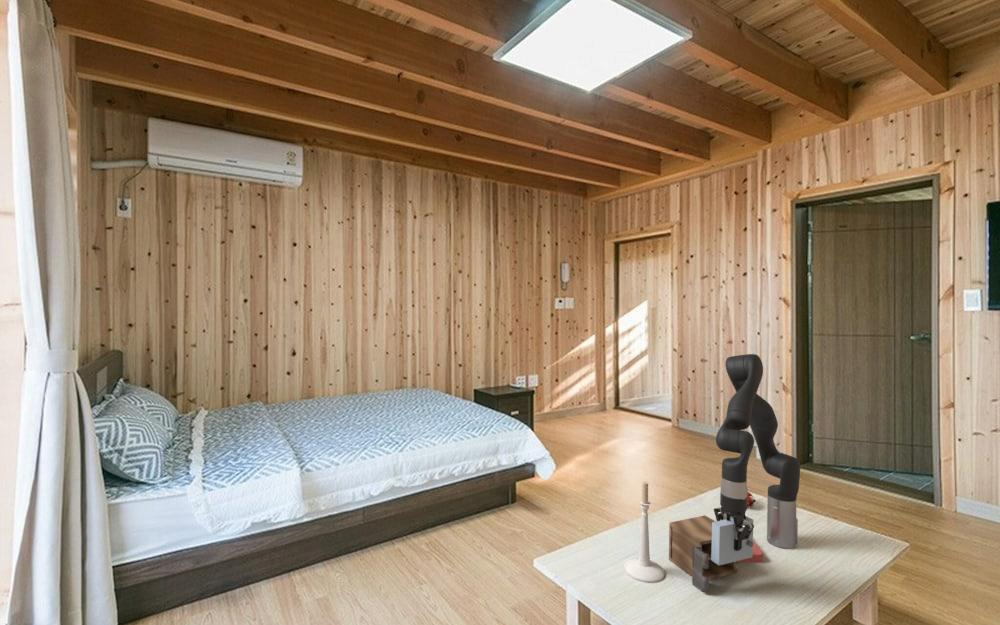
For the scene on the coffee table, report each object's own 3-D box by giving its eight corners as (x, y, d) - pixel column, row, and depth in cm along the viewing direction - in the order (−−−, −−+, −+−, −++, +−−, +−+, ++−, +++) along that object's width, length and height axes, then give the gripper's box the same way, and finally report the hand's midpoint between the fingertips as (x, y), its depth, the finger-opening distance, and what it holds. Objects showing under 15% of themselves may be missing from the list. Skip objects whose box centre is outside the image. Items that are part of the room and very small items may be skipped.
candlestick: (672, 580, 149) (673, 487, 149) (634, 584, 147) (635, 490, 146) (652, 559, 162) (653, 473, 161) (617, 562, 160) (618, 475, 159)
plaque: (703, 526, 179) (744, 528, 177) (702, 536, 179) (743, 538, 177) (719, 550, 161) (764, 553, 160) (719, 561, 161) (764, 564, 160)
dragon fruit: (733, 502, 212) (752, 518, 201) (721, 493, 210) (739, 508, 199) (744, 487, 212) (764, 502, 201) (732, 478, 210) (751, 492, 199)
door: (711, 560, 146) (712, 522, 145) (744, 552, 151) (745, 515, 150) (722, 567, 142) (722, 528, 141) (755, 559, 147) (756, 521, 146)
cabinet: (704, 551, 167) (705, 515, 167) (752, 582, 149) (753, 541, 148) (660, 562, 160) (660, 524, 160) (704, 595, 141) (705, 553, 141)
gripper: (707, 486, 152) (706, 538, 152) (743, 503, 138) (742, 561, 139) (724, 483, 154) (723, 535, 155) (762, 500, 141) (760, 556, 141)
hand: (732, 547), depth 147 cm, fingers closed on door, 3 cm apart
